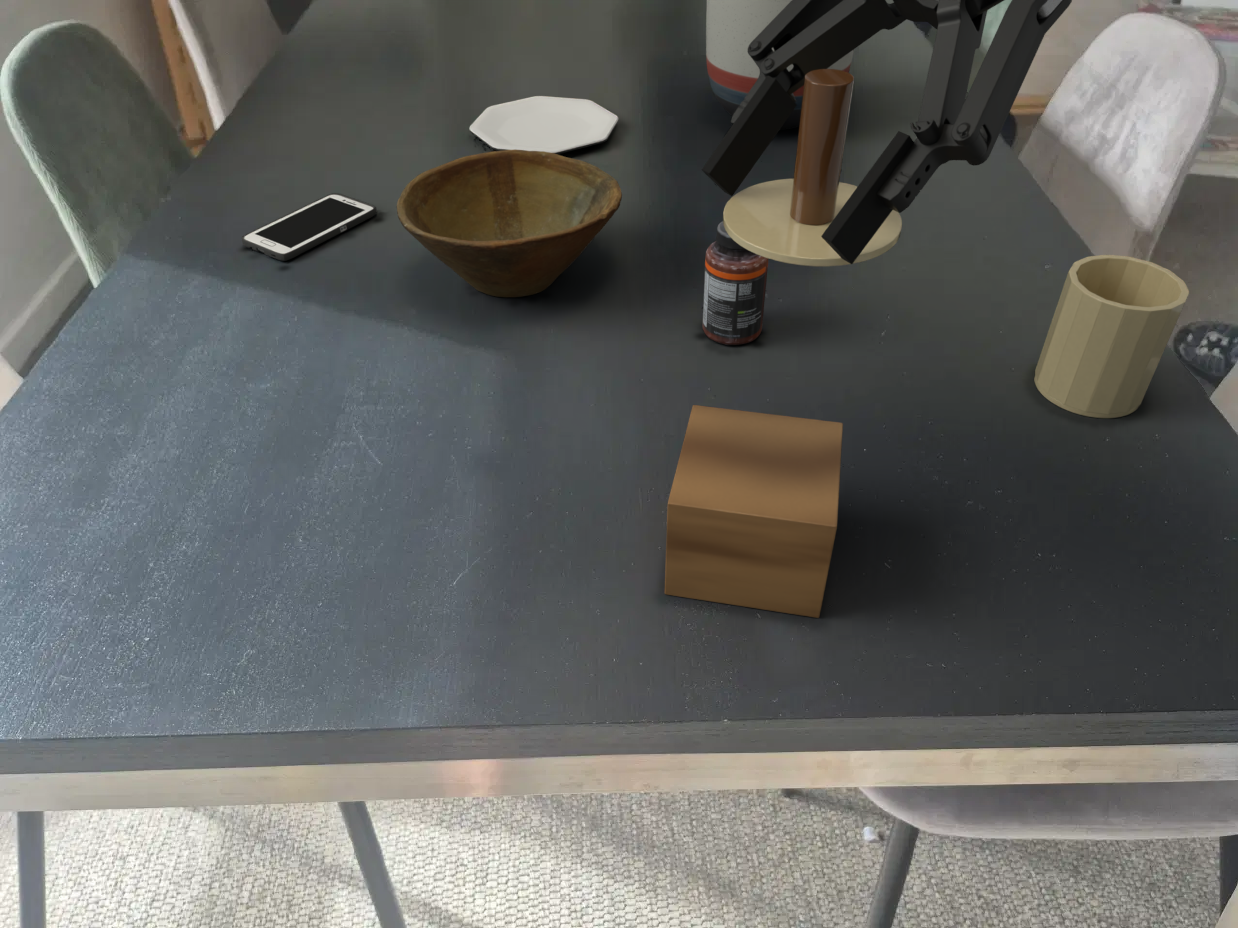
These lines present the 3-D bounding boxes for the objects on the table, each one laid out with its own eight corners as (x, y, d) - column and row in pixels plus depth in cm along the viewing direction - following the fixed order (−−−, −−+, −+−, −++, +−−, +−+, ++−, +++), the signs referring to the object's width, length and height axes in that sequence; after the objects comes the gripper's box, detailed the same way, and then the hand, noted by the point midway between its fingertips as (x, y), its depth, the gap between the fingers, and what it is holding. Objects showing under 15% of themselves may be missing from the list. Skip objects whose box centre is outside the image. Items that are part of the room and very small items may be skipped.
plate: (628, 112, 139) (628, 102, 138) (595, 167, 125) (595, 156, 124) (500, 102, 143) (500, 92, 142) (454, 154, 128) (453, 143, 127)
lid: (898, 276, 51) (929, 120, 46) (708, 255, 53) (717, 104, 48) (903, 194, 59) (930, 52, 53) (737, 178, 61) (746, 40, 55)
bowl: (642, 318, 96) (643, 227, 90) (415, 345, 93) (399, 253, 86) (601, 222, 113) (599, 140, 106) (406, 242, 109) (392, 158, 103)
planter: (769, 87, 147) (783, -69, 133) (874, 124, 135) (901, -42, 121) (671, 119, 137) (676, -45, 123) (775, 163, 125) (792, -14, 111)
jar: (1151, 424, 83) (1200, 315, 75) (1040, 411, 84) (1078, 303, 77) (1131, 365, 89) (1174, 260, 82) (1028, 354, 91) (1062, 250, 84)
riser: (819, 618, 66) (837, 526, 60) (664, 594, 68) (667, 503, 62) (826, 512, 74) (843, 422, 69) (688, 493, 76) (692, 404, 70)
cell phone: (239, 245, 109) (237, 237, 108) (336, 198, 118) (334, 191, 117) (284, 264, 105) (282, 256, 105) (380, 214, 114) (379, 206, 114)
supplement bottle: (729, 309, 98) (737, 206, 90) (774, 332, 94) (785, 227, 87) (688, 330, 95) (693, 226, 87) (733, 355, 91) (742, 248, 84)
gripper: (1239, -50, 46) (946, 327, 50) (899, -118, 60) (690, 180, 64) (1222, -171, 40) (893, 265, 44) (850, -215, 55) (624, 119, 58)
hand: (773, 215), depth 54 cm, fingers closed on lid, 10 cm apart
